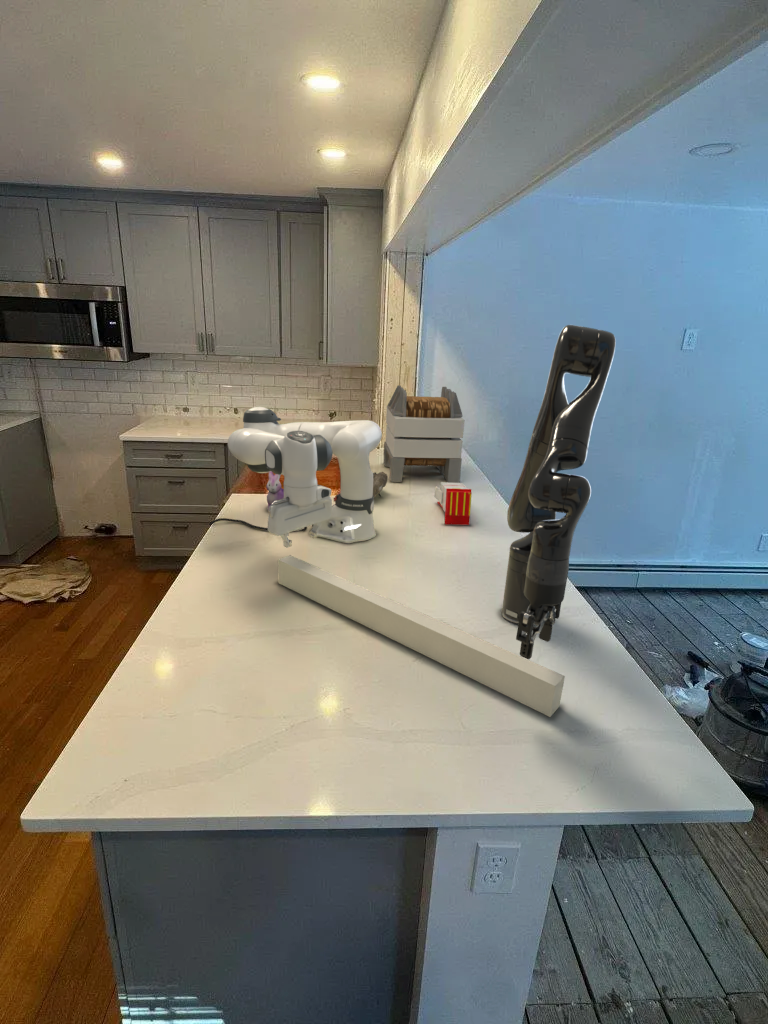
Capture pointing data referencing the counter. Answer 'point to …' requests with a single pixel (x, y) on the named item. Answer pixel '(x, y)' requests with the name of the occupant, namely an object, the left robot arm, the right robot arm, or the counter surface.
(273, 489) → the figurine
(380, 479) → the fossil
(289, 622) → the counter surface
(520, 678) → the post
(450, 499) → the toy
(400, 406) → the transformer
